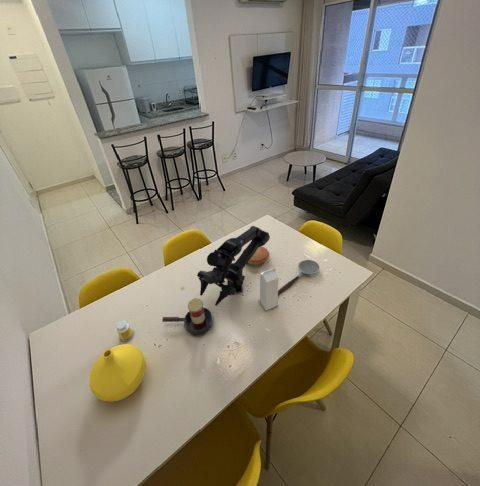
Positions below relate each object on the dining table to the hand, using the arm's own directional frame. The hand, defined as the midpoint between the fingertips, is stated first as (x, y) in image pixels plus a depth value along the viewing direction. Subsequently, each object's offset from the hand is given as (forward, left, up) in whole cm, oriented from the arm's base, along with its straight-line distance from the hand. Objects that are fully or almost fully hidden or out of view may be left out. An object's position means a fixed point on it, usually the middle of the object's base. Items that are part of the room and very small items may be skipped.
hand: (208, 300), depth 114 cm
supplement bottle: (+35, +11, -9) cm, 38 cm away
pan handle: (+15, +6, -6) cm, 17 cm away
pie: (-22, -36, -9) cm, 43 cm away
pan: (+4, +6, -9) cm, 11 cm away
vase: (+29, +29, -9) cm, 42 cm away
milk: (-27, -5, -9) cm, 29 cm away
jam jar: (+4, +6, -8) cm, 11 cm away
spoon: (-41, -19, -9) cm, 46 cm away
